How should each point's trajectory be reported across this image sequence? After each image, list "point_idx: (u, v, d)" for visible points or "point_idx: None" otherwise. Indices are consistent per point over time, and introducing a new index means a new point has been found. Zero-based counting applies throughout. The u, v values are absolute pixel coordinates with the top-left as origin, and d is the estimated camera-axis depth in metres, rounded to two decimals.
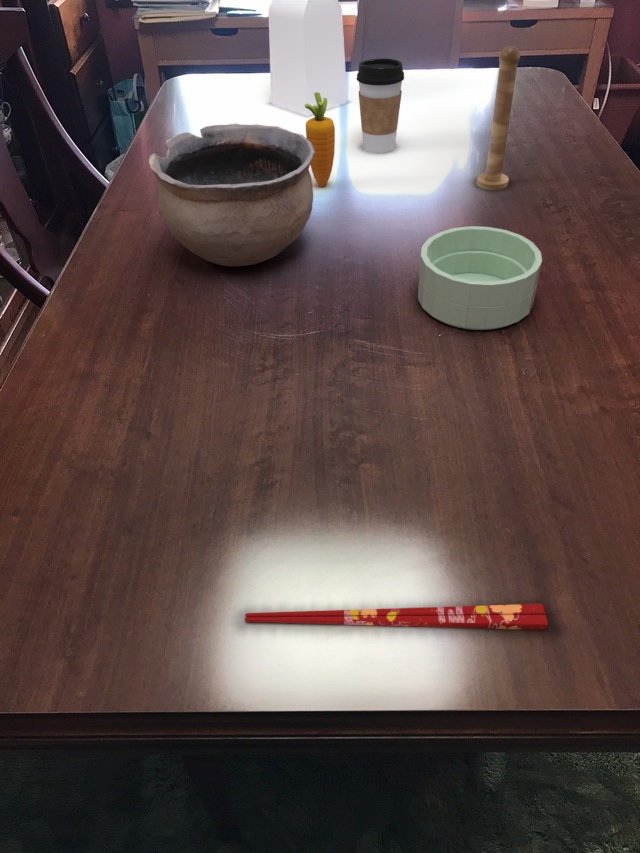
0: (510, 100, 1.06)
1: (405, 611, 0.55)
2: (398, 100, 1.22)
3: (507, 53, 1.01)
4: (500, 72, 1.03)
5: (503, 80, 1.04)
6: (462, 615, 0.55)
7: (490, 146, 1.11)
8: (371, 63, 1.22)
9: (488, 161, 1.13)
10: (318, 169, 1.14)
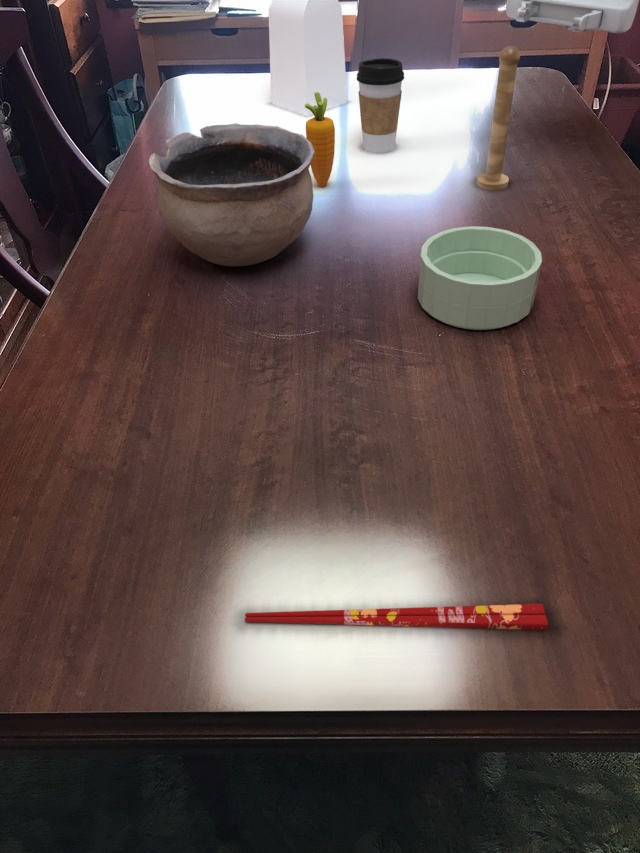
0: (510, 100, 1.06)
1: (405, 611, 0.55)
2: (398, 100, 1.22)
3: (507, 53, 1.01)
4: (500, 72, 1.03)
5: (503, 80, 1.04)
6: (462, 615, 0.55)
7: (490, 146, 1.11)
8: (371, 63, 1.22)
9: (488, 161, 1.13)
10: (318, 169, 1.14)
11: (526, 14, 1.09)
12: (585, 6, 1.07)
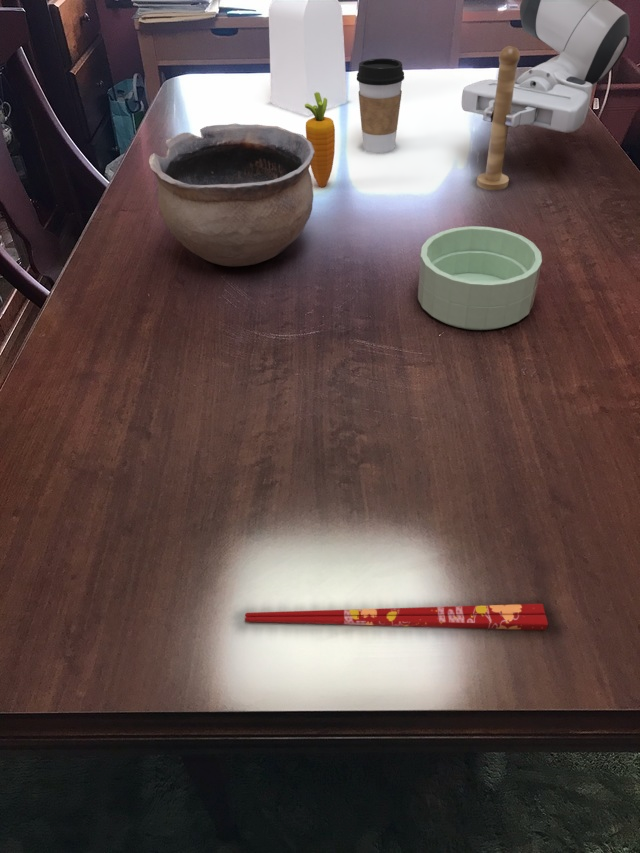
0: (510, 100, 1.06)
1: (405, 611, 0.55)
2: (398, 100, 1.22)
3: (507, 53, 1.01)
4: (500, 72, 1.04)
5: (503, 80, 1.04)
6: (462, 615, 0.55)
7: (490, 146, 1.11)
8: (371, 63, 1.22)
9: (488, 161, 1.13)
10: (318, 169, 1.14)
11: None
12: (535, 106, 1.08)
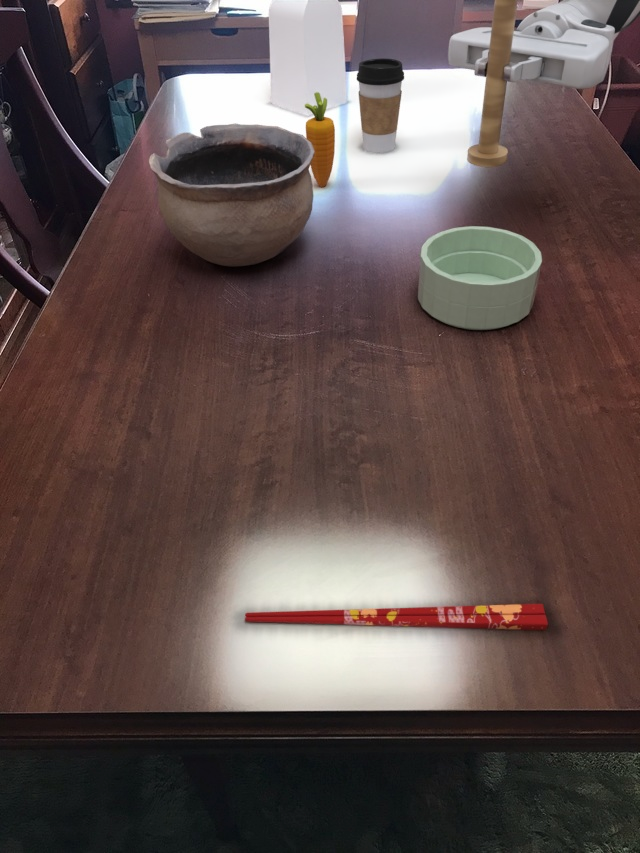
0: (509, 46, 0.82)
1: (405, 611, 0.55)
2: (398, 100, 1.22)
3: None
4: (496, 8, 0.80)
5: (500, 19, 0.80)
6: (462, 615, 0.55)
7: (484, 108, 0.87)
8: (371, 63, 1.22)
9: (482, 128, 0.89)
10: (318, 169, 1.14)
11: None
12: (542, 55, 0.84)
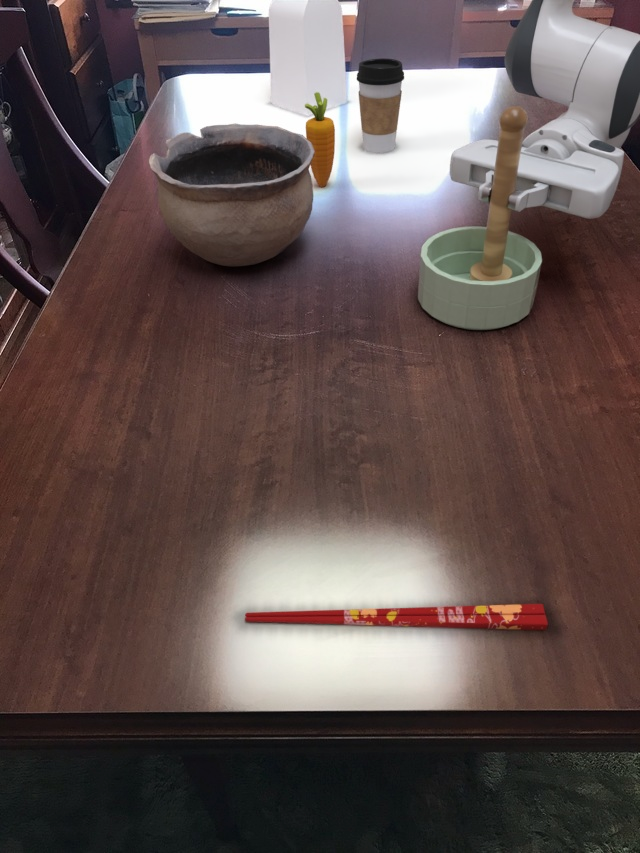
0: (514, 176, 0.78)
1: (405, 611, 0.55)
2: (398, 100, 1.22)
3: (510, 116, 0.73)
4: (500, 140, 0.76)
5: (505, 151, 0.76)
6: (462, 615, 0.55)
7: (487, 233, 0.83)
8: (371, 63, 1.22)
9: (485, 251, 0.85)
10: (318, 169, 1.14)
11: None
12: (548, 182, 0.80)
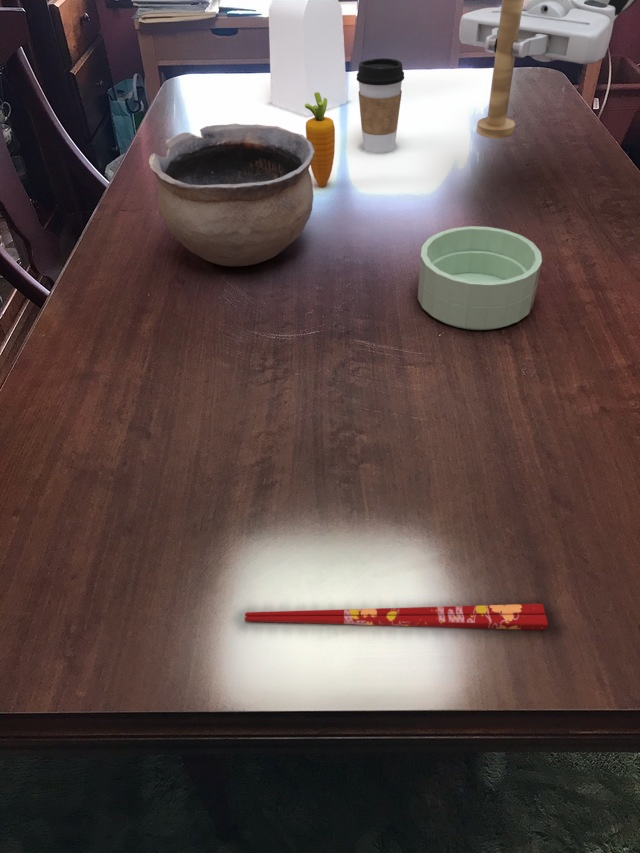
0: (517, 23, 0.88)
1: (405, 611, 0.55)
2: (398, 100, 1.22)
3: None
4: None
5: None
6: (462, 615, 0.55)
7: (493, 82, 0.93)
8: (371, 63, 1.22)
9: (491, 101, 0.95)
10: (318, 169, 1.14)
11: None
12: (548, 32, 0.90)
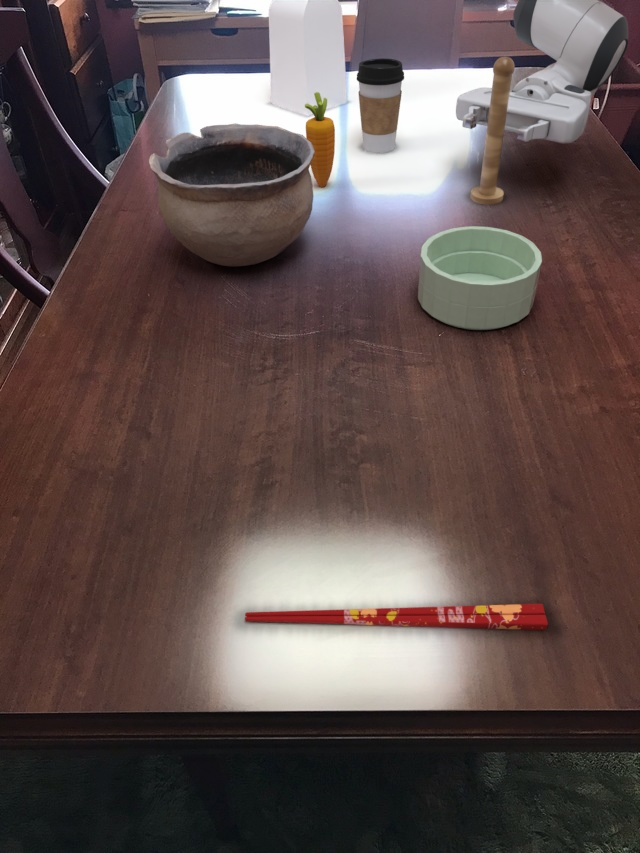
0: (505, 112, 1.02)
1: (405, 611, 0.55)
2: (398, 100, 1.22)
3: (501, 64, 0.97)
4: (494, 83, 1.00)
5: (497, 92, 1.00)
6: (462, 615, 0.55)
7: (484, 159, 1.07)
8: (371, 63, 1.22)
9: (482, 175, 1.09)
10: (318, 169, 1.14)
11: (473, 121, 1.06)
12: (532, 115, 1.04)
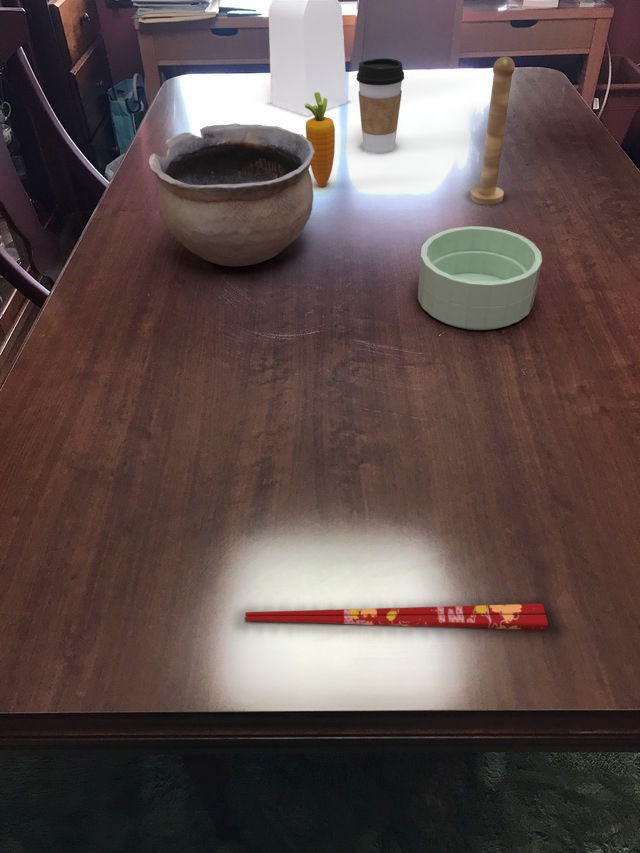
0: (505, 112, 1.02)
1: (405, 611, 0.55)
2: (398, 100, 1.22)
3: (501, 64, 0.97)
4: (494, 83, 1.00)
5: (497, 92, 1.00)
6: (462, 615, 0.55)
7: (484, 159, 1.07)
8: (371, 63, 1.22)
9: (482, 175, 1.09)
10: (318, 169, 1.14)
11: None
12: None
